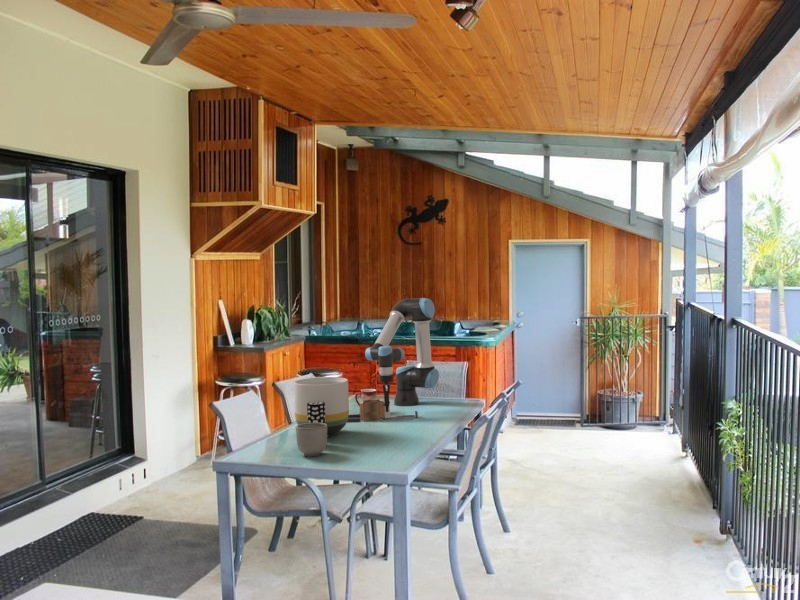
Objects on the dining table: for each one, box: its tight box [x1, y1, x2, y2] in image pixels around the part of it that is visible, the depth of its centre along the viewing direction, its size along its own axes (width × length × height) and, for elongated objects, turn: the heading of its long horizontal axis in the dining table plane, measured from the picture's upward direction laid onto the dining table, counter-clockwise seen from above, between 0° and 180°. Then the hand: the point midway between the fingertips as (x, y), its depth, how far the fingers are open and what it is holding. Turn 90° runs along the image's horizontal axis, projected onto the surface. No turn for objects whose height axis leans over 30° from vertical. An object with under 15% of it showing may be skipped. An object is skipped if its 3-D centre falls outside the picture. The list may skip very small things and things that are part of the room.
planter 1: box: [293, 376, 350, 437], centre depth 350 cm, size 27×27×27 cm
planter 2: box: [295, 423, 328, 458], centre depth 310 cm, size 14×14×13 cm
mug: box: [355, 388, 377, 408], centre depth 403 cm, size 13×9×14 cm
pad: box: [381, 418, 414, 421], centre depth 387 cm, size 17×9×1 cm, turn 93°
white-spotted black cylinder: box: [307, 402, 326, 424], centre depth 326 cm, size 8×8×20 cm
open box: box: [363, 395, 381, 423], centre depth 386 cm, size 9×12×12 cm
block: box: [359, 400, 385, 419], centre depth 386 cm, size 16×6×8 cm, turn 93°
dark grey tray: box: [347, 413, 361, 423], centre depth 386 cm, size 9×12×2 cm
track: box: [360, 410, 419, 421], centre depth 386 cm, size 31×5×3 cm, turn 93°
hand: (387, 416), depth 386 cm, fingers closed on block, 5 cm apart
